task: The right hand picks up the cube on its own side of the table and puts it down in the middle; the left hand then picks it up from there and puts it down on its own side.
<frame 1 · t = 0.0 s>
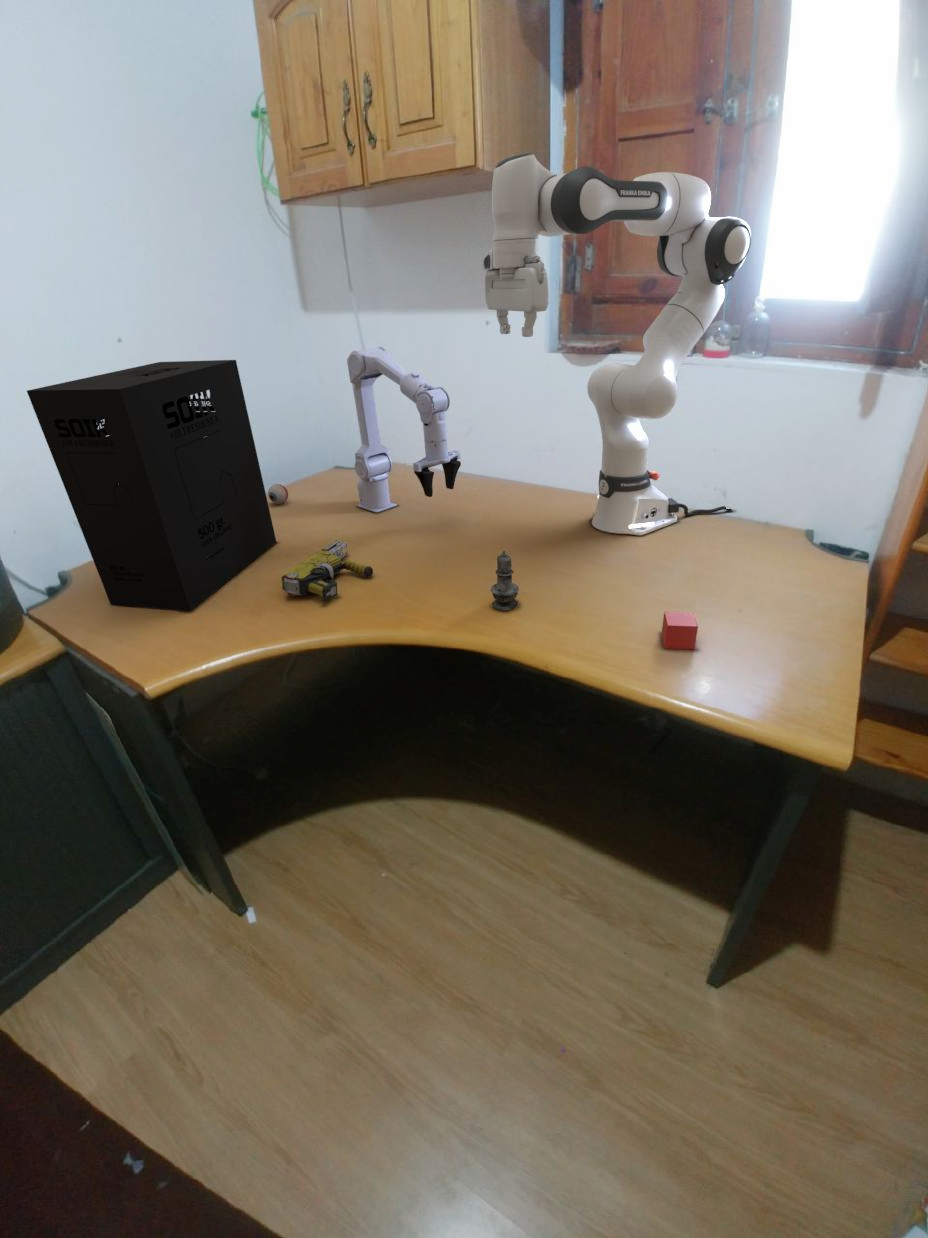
left hand: (439, 492, 158), 10 cm above the table, tool pointing down, fingers open, 7 cm apart
right hand: (516, 335, 125), 48 cm above the table, tool pointing down, fingers open, 8 cm apart
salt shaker: (505, 604, 124), on the table
toy gun: (338, 579, 139), on the table
cube: (677, 641, 109), on the table
eyeball: (279, 503, 188), on the table
cardboard box: (201, 571, 147), on the table
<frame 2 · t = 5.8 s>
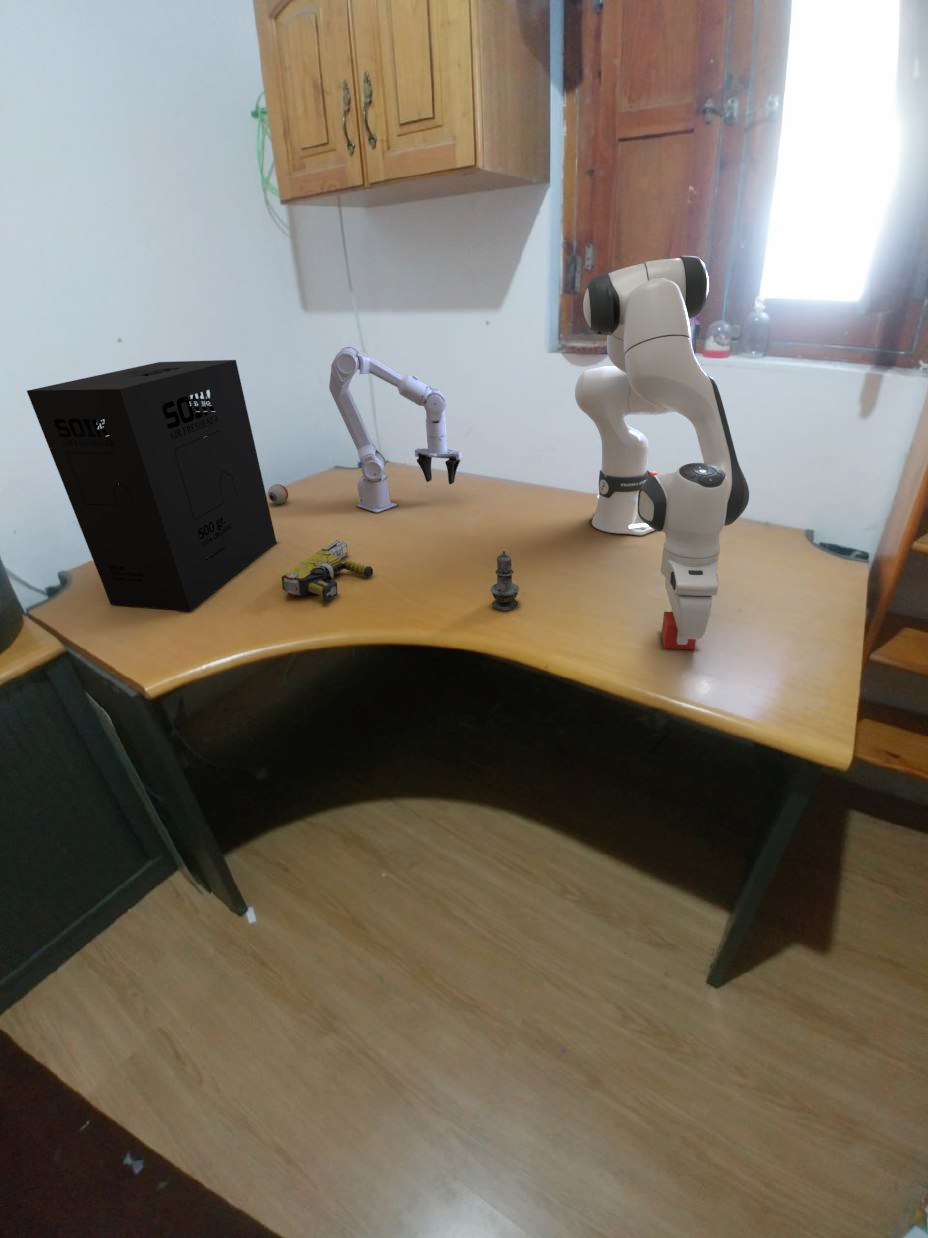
left hand: (440, 481, 179), 6 cm above the table, tool pointing down, fingers open, 7 cm apart
right hand: (678, 633, 108), 2 cm above the table, tool pointing down, fingers closed on cube, 5 cm apart
cube: (677, 641, 109), on the table, touching right hand
everything else where it was.
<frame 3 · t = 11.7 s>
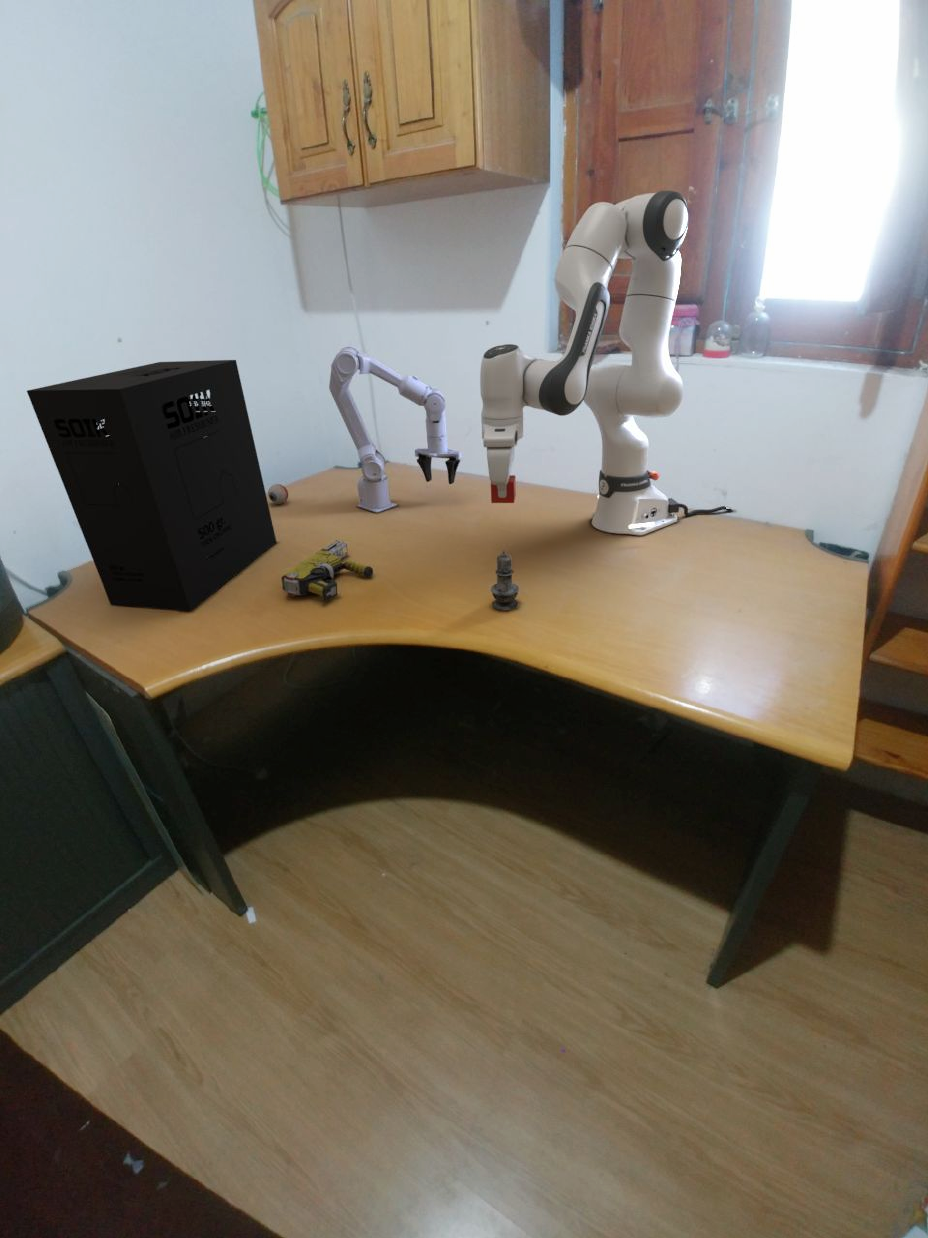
left hand: (440, 481, 179), 6 cm above the table, tool pointing down, fingers open, 7 cm apart
right hand: (503, 492, 135), 17 cm above the table, tool pointing down, fingers closed on cube, 5 cm apart
cube: (503, 499, 136), point 15 cm above the table, touching right hand
everything else where it was.
when the right hand's fingers open (2 cm above the table, at t = 17.6 s): cube stays where it is, on the table.
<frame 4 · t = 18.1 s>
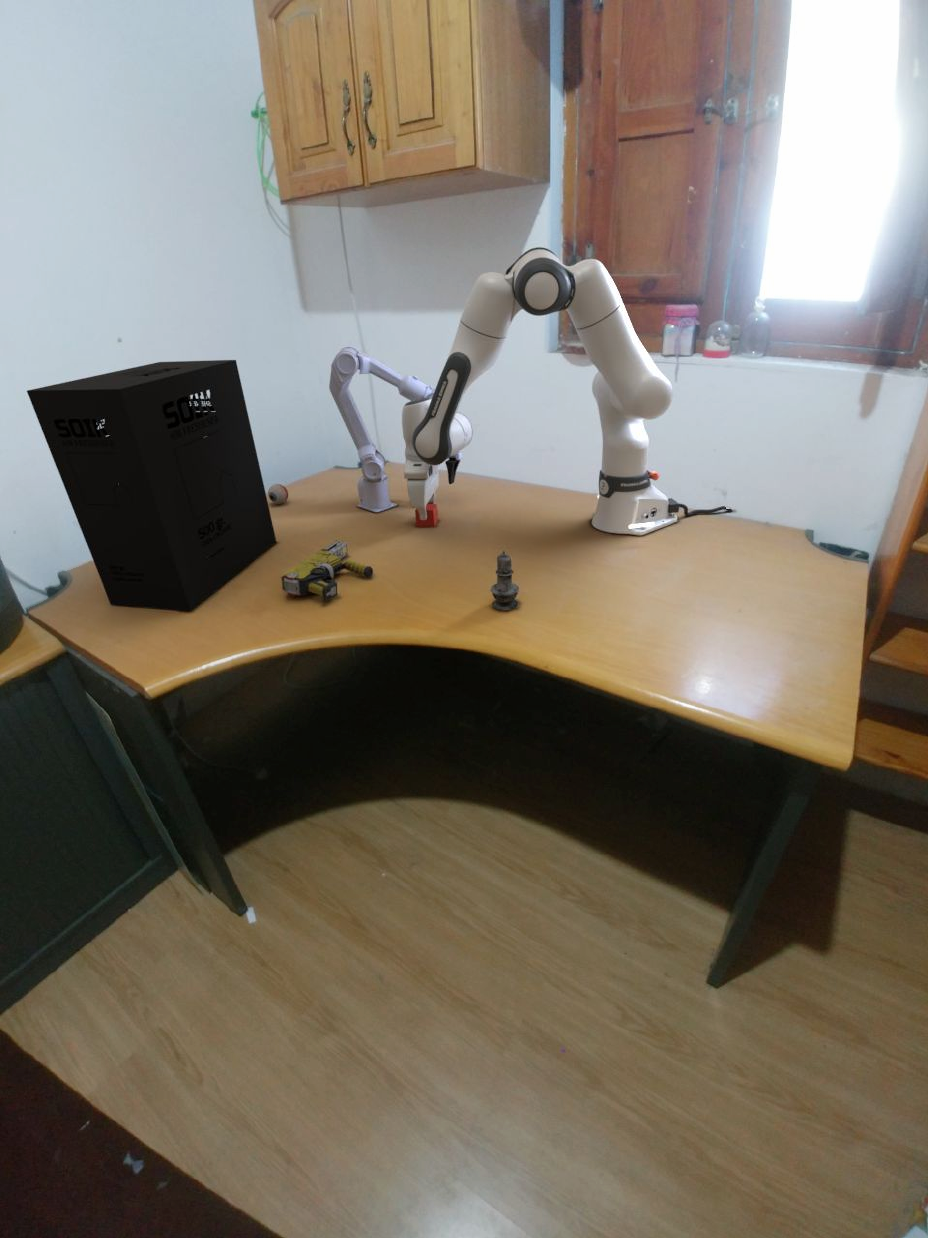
left hand: (440, 481, 179), 6 cm above the table, tool pointing down, fingers open, 7 cm apart
right hand: (427, 512, 166), 3 cm above the table, tool pointing down, fingers open, 8 cm apart
cube: (427, 523, 167), on the table
everything else where it was.
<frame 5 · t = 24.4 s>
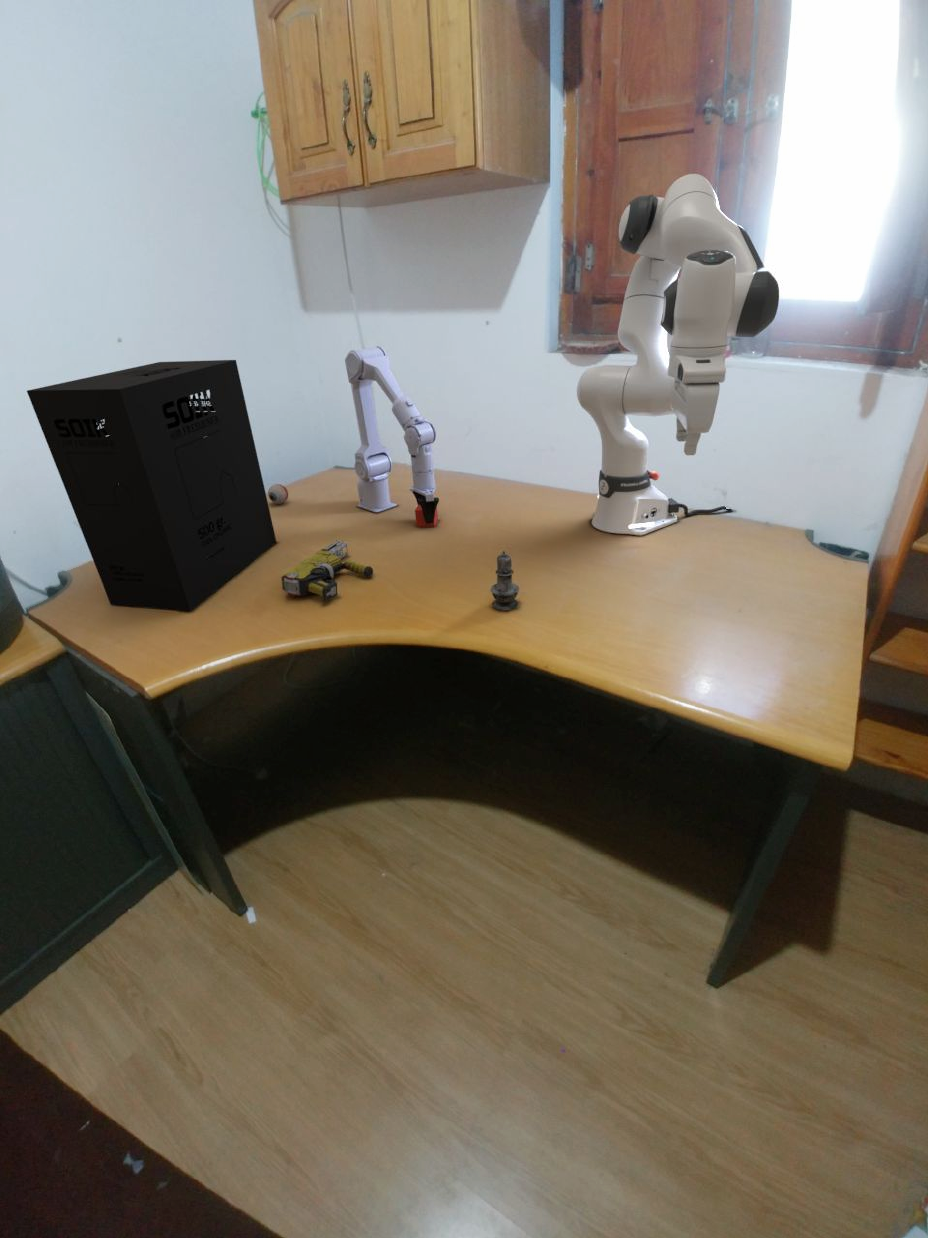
left hand: (427, 518, 166), 1 cm above the table, tool pointing down, fingers closed on cube, 6 cm apart
right hand: (685, 447, 108), 31 cm above the table, tool pointing down, fingers open, 8 cm apart
cube: (427, 523, 167), on the table, touching left hand
everything else where it was.
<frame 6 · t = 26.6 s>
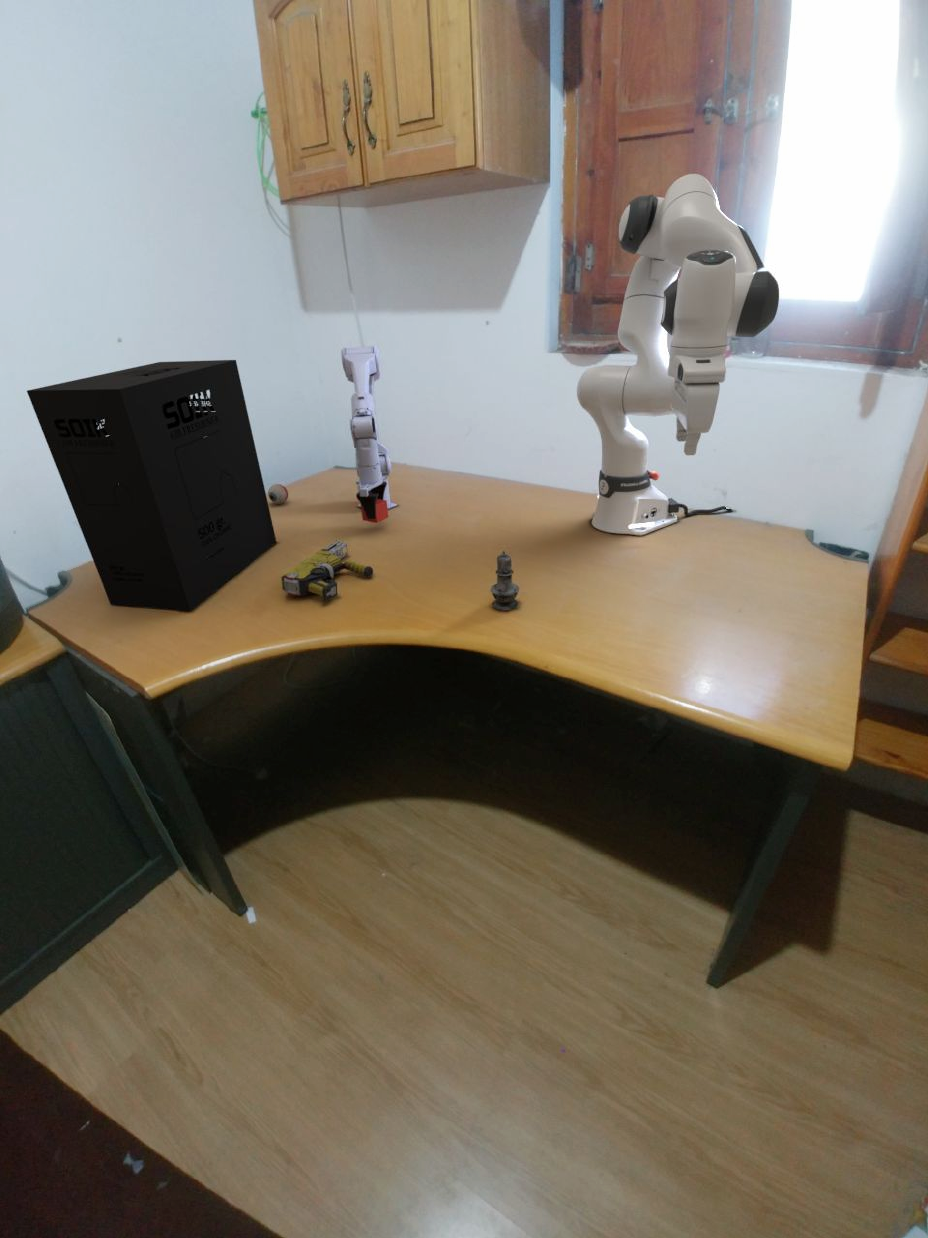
left hand: (375, 513, 163), 4 cm above the table, tool pointing down, fingers closed on cube, 6 cm apart
right hand: (685, 447, 108), 31 cm above the table, tool pointing down, fingers open, 8 cm apart
cube: (375, 518, 164), point 3 cm above the table, touching left hand
everything else where it was.
when the left hand's fingers open (2 cm above the table, at t = 28.7 s): cube stays where it is, on the table.
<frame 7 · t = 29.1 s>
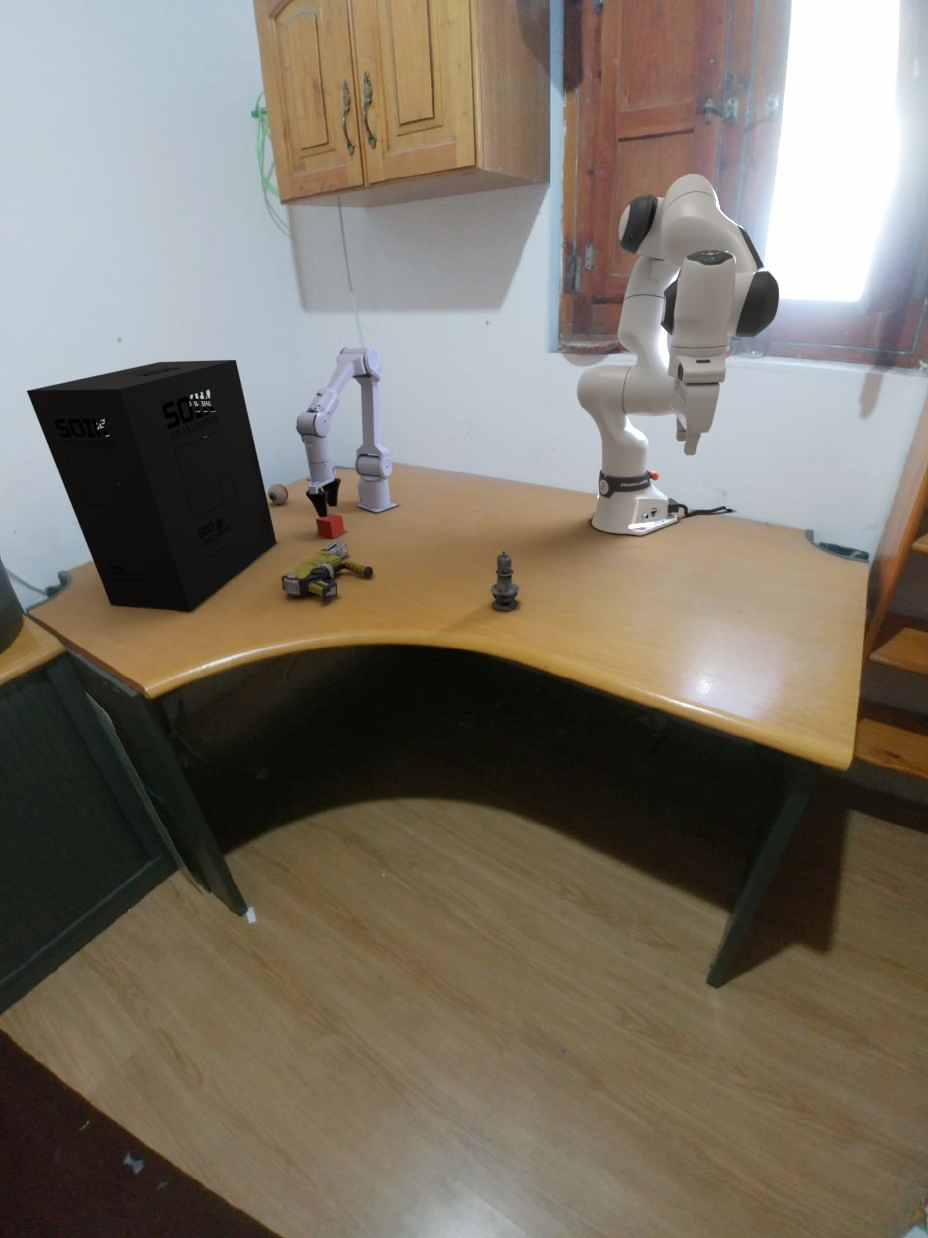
left hand: (328, 511, 161), 6 cm above the table, tool pointing down, fingers open, 7 cm apart
right hand: (685, 447, 108), 31 cm above the table, tool pointing down, fingers open, 8 cm apart
cube: (331, 534, 164), on the table
everything else where it was.
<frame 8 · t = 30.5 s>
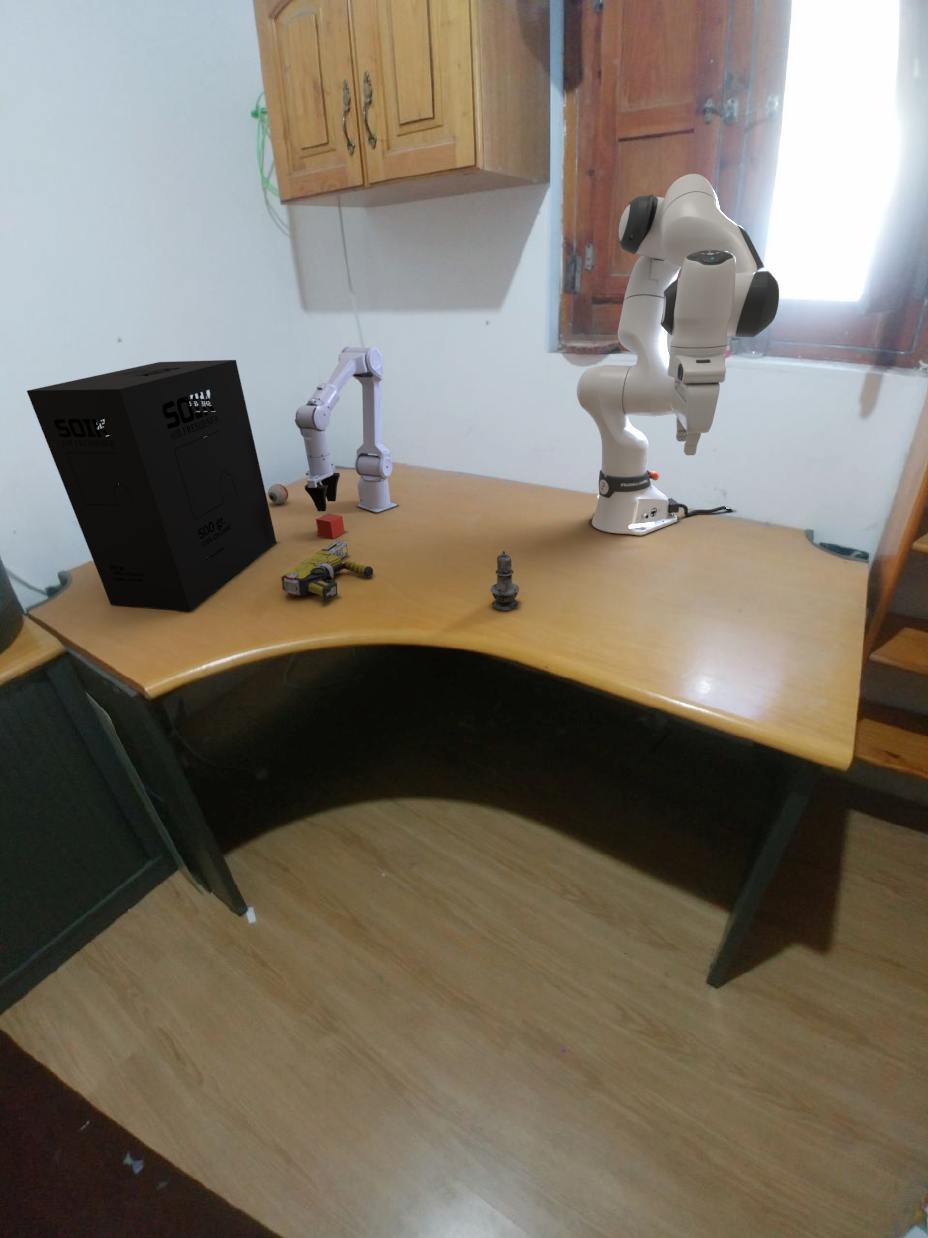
left hand: (327, 505, 160), 8 cm above the table, tool pointing down, fingers open, 7 cm apart
right hand: (685, 447, 108), 31 cm above the table, tool pointing down, fingers open, 8 cm apart
nothing on the table moved.
at the end: cube inside the target area (0.0 cm from its centre), on the table; cube tilted 0°; the two hands never held the cube at the same time; the left hand is holding nothing; the right hand is holding nothing; cube at rest at the end (0.0 cm/s) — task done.
